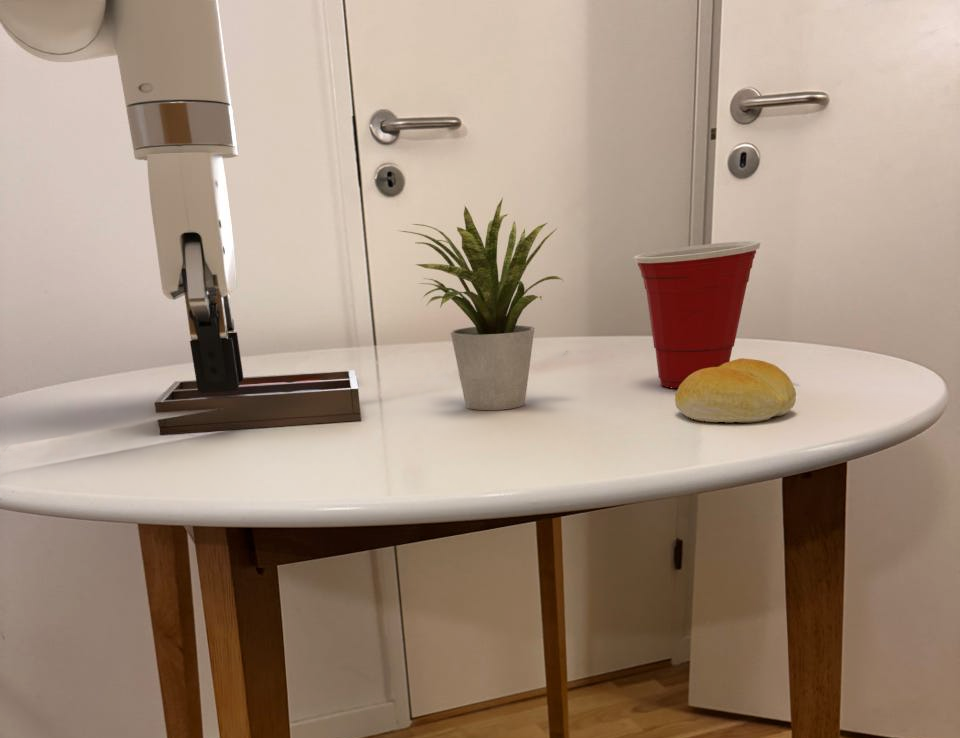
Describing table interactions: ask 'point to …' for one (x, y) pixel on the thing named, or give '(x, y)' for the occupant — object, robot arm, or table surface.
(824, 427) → the table surface
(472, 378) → the house plant
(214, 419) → the organiser
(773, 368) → the bread roll
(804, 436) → the table surface
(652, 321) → the plastic cup
